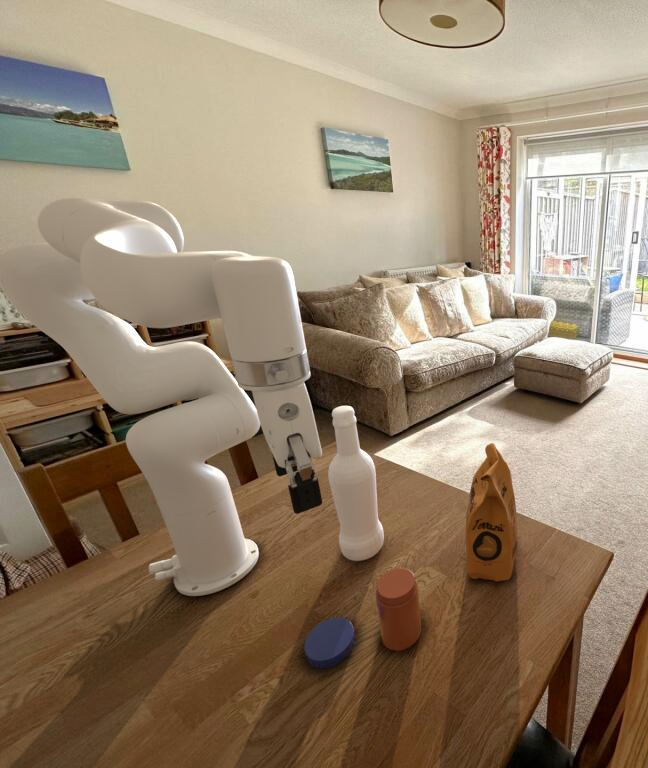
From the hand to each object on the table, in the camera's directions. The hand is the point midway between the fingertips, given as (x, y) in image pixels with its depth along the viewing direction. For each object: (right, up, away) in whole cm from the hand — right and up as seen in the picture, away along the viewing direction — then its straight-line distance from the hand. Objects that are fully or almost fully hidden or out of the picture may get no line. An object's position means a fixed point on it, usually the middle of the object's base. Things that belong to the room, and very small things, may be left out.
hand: (298, 489), depth 53 cm
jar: (+11, -25, +9) cm, 29 cm away
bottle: (-1, -18, +26) cm, 31 cm away
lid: (+1, -24, +7) cm, 25 cm away
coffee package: (+24, -20, +24) cm, 39 cm away
